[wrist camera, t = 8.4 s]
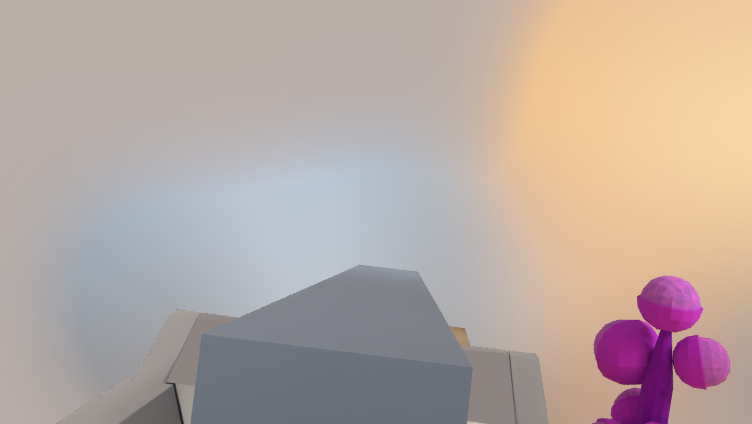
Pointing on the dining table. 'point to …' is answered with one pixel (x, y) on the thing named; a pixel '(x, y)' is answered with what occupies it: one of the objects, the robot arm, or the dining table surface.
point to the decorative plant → (657, 353)
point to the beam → (337, 358)
